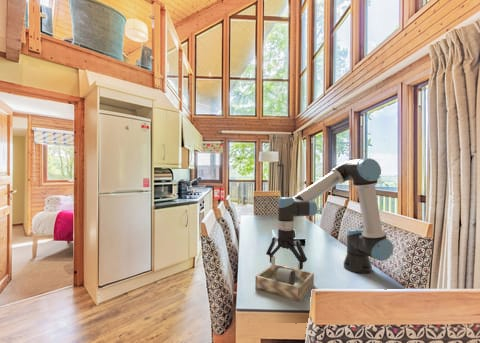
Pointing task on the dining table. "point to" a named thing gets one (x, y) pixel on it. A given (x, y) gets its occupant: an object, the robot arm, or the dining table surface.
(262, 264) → the dining table surface
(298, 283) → the walled box
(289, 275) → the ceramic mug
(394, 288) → the dining table surface
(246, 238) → the dining table surface
